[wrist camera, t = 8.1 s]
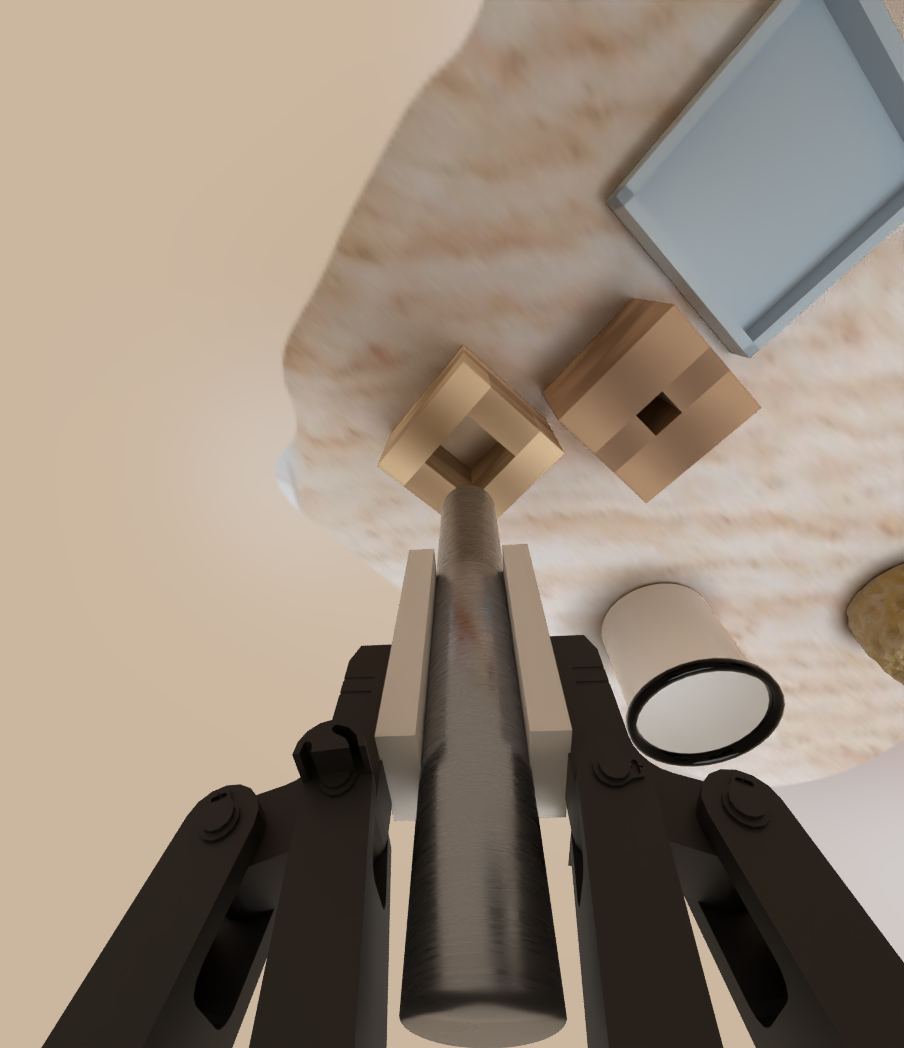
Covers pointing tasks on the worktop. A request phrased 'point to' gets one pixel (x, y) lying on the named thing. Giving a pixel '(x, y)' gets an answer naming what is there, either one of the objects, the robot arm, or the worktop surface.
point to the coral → (881, 620)
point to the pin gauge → (477, 817)
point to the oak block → (470, 438)
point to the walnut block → (649, 396)
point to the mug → (686, 679)
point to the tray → (777, 168)
